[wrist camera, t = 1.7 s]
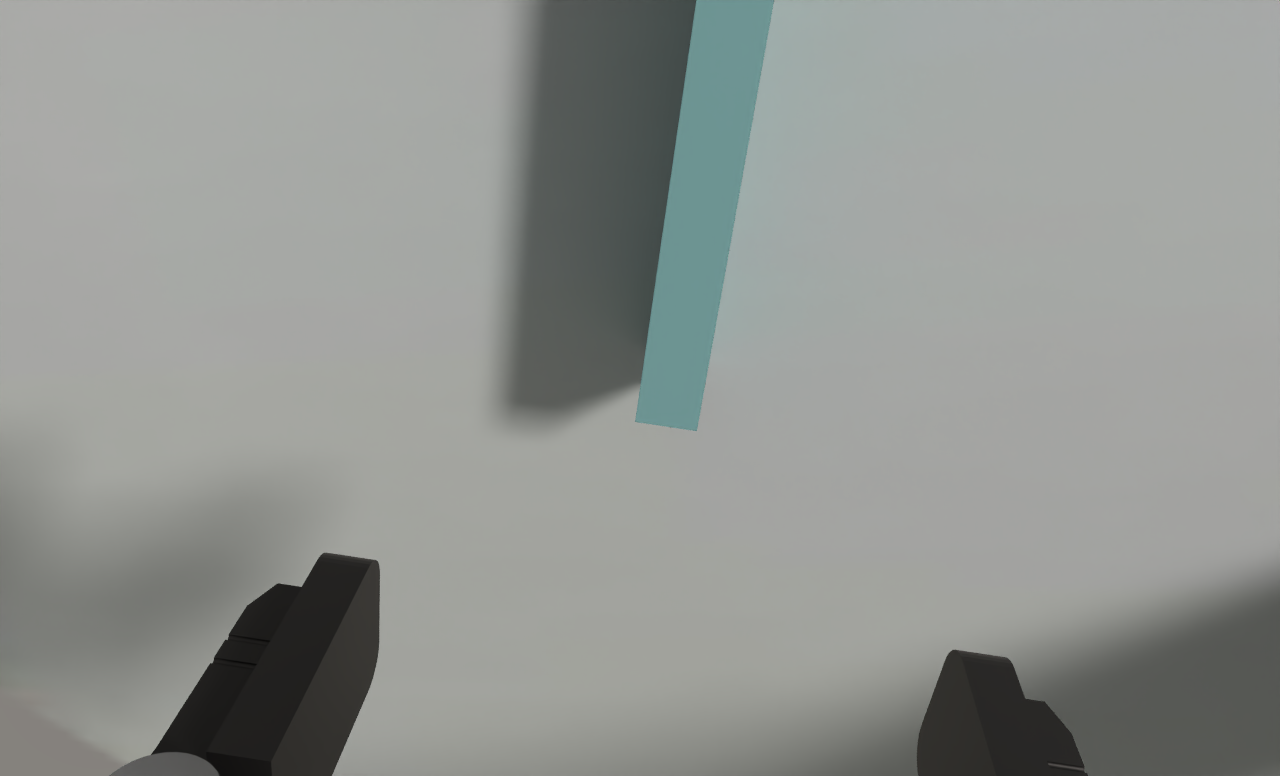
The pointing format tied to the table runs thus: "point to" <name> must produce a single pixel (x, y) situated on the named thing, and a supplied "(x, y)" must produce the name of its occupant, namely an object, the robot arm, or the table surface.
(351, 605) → the robot arm
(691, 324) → the long teal stick
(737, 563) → the table surface
